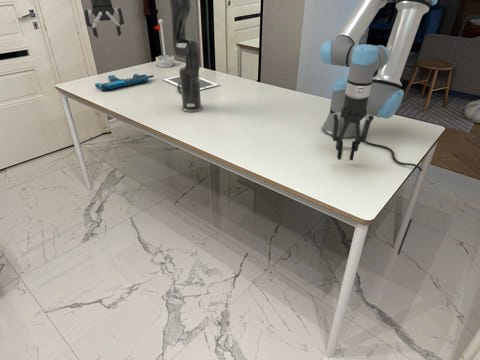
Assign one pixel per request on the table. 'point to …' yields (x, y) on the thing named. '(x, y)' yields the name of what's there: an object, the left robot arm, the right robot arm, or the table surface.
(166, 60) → the flag stand
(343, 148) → the can
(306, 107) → the table surface
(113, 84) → the submachine gun
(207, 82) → the tablet
